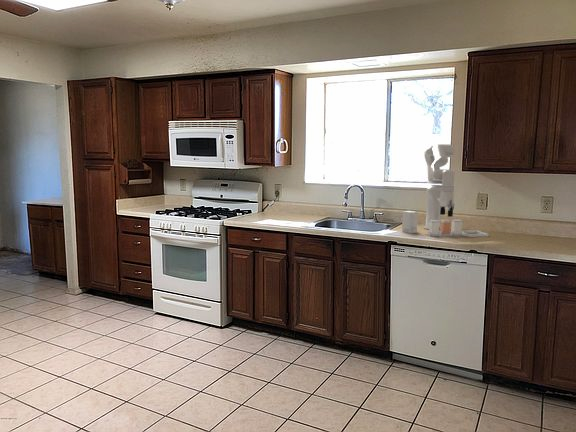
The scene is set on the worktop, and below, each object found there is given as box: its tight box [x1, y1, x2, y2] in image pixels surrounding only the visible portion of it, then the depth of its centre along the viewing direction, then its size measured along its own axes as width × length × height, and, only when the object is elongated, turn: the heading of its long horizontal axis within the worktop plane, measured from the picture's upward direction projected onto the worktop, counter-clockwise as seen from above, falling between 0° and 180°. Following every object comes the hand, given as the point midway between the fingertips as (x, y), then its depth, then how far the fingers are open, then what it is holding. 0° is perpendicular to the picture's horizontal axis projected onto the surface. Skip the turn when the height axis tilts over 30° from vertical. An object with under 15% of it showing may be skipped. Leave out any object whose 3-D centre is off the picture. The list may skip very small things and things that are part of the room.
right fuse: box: [450, 218, 463, 236], centre depth 305 cm, size 4×5×10 cm
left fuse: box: [428, 220, 440, 236], centre depth 302 cm, size 4×5×10 cm
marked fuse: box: [439, 219, 452, 236], centre depth 304 cm, size 4×5×10 cm
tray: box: [462, 229, 489, 238], centre depth 308 cm, size 14×14×3 cm
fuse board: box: [424, 230, 465, 238], centre depth 304 cm, size 10×24×4 cm, turn 100°
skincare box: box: [401, 210, 419, 234], centre depth 315 cm, size 8×7×16 cm
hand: (446, 215), depth 302 cm, fingers open, 9 cm apart
